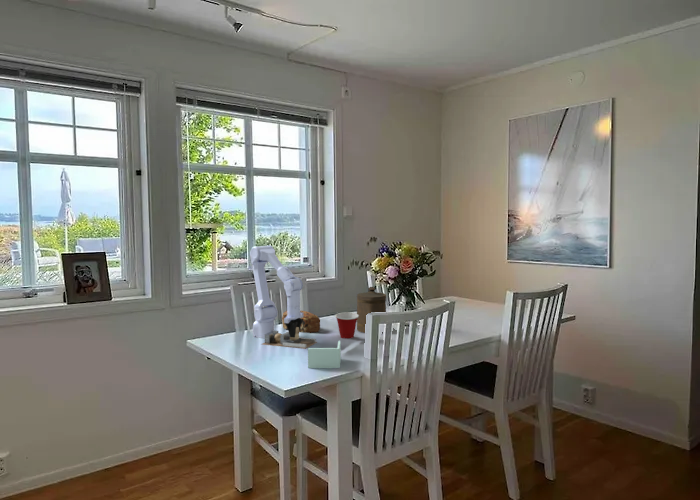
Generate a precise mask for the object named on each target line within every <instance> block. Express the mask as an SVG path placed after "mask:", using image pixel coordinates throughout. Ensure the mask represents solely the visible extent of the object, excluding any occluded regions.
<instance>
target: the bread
mask: <svg viewBox="0 0 700 500" xmlns="http://www.w3.org/2000/svg"><path fill="white" fill-rule="evenodd" d="M300 312H302V313H303V317H302V318H300V319H303V322H302V324H301V327H300V331H299V333H303V334H312V333H317V332H320V331H321V330H320V329H321V319H320V317H319V316H317V315H316V314H314V313H312V312H310V311H306V310H300ZM286 316H287V310H285V311H284V312H283V313H282V317H281V320H282V321H281V322H282V329H284V330H287V331H288V328H287V326H286V325H285V323H284V318H286Z"/></svg>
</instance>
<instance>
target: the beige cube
mask: <svg viewBox="0 0 700 500" xmlns="http://www.w3.org/2000/svg"><path fill="white" fill-rule="evenodd" d="M281 334H282V335H280V340H281V344H283V342H289V343H300V342H301V338H302V337H300V332H299V327H296V332H295V337H290V335H289V331H286V332H284V333H281Z"/></svg>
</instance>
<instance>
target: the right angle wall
mask: <svg viewBox="0 0 700 500" xmlns="http://www.w3.org/2000/svg"><path fill="white" fill-rule="evenodd" d="M341 342H342V341H341V340H338V341H337V347H308V348H307V368H308V369H340V368H341V358H342V357H341V355H342V352H341V351H342V349H341V348H342V347H341V346H342V345H341V344H342V343H341Z"/></svg>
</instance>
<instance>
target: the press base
mask: <svg viewBox="0 0 700 500" xmlns="http://www.w3.org/2000/svg"><path fill="white" fill-rule="evenodd" d="M277 333H279V330H274V331H271V332H269V333H267V334H265V339H264V342H263V343H261V345H264V346H274V347H283V348H292V349H293V348H294V349H301V350H302V349H304V350H306V349H308V348H311V346H313V345H315V344H317V343H318V341H317V339H316V338H309V337H308V338H307V337H301V342H300V343H289V342H283V344H281V343H276V341H275V339H274V337H275V335H276V334H277Z"/></svg>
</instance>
